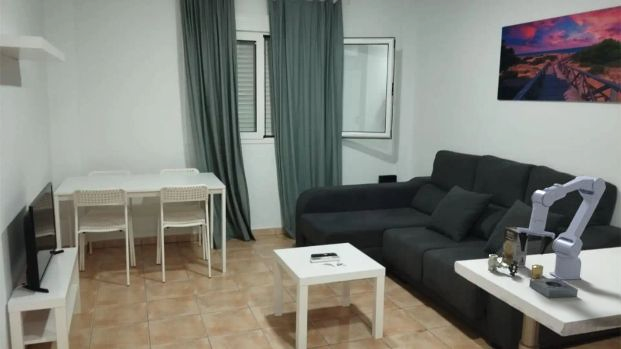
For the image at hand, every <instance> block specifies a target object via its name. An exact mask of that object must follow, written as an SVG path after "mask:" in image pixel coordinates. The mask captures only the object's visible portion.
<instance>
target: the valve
mask: <svg viewBox="0 0 621 349" xmlns="http://www.w3.org/2000/svg"><path fill="white" fill-rule="evenodd" d="M498 257H499V256H498V255H497V254H495V253H494V254H493V253H492V254H489V255H488V260H487V267H488V268H487V269H488V270H487V271H490V272H497V268H498V269H501V268H503V269H508V270H509V272H510V273H509V275H510V276H512V277H515V276H516V274H517V273H518V269H519V267H518V266H517V264H518V262H516V261H513V262H514V263H513V264H512V263H511V265H509V264H507V263H504V262H503V261H502V260H499V261H498Z"/></svg>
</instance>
